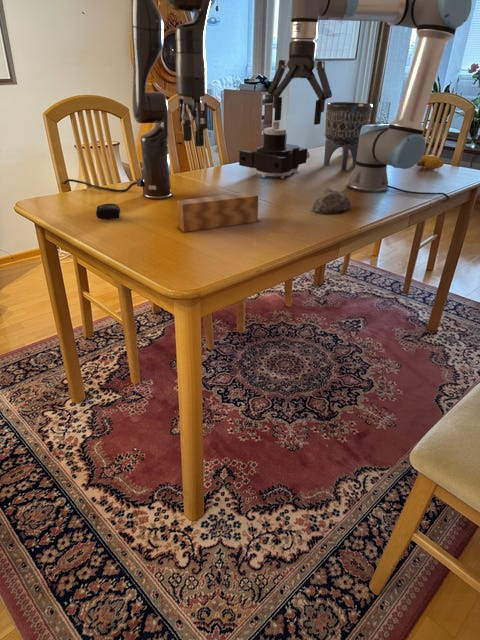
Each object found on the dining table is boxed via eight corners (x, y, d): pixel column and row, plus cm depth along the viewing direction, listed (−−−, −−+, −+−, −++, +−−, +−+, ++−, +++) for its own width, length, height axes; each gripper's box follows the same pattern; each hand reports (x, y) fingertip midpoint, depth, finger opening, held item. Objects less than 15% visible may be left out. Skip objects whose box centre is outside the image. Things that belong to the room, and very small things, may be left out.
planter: (313, 167, 208) (319, 103, 195) (331, 160, 222) (338, 101, 209) (353, 173, 199) (362, 107, 185) (369, 166, 213) (379, 104, 199)
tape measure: (96, 222, 135) (94, 209, 133) (99, 215, 140) (97, 203, 139) (120, 221, 136) (118, 209, 134) (121, 214, 141) (120, 202, 139)
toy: (418, 162, 205) (412, 155, 217) (420, 176, 207) (414, 168, 220) (444, 154, 201) (436, 147, 214) (446, 168, 204) (438, 161, 217)
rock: (335, 203, 156) (338, 184, 153) (355, 209, 151) (359, 189, 148) (309, 210, 149) (311, 190, 145) (329, 217, 143) (332, 196, 140)
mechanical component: (240, 120, 182) (283, 115, 202) (239, 174, 192) (280, 164, 212) (283, 126, 170) (325, 120, 190) (280, 183, 180) (320, 171, 200)
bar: (250, 217, 142) (251, 192, 138) (257, 221, 139) (258, 195, 135) (178, 227, 132) (177, 200, 128) (183, 232, 129) (182, 204, 125)
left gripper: (167, 73, 117) (171, 140, 125) (187, 75, 106) (189, 148, 114) (194, 73, 120) (196, 138, 128) (216, 75, 109) (217, 147, 117)
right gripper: (258, 40, 131) (255, 119, 142) (338, 40, 119) (329, 127, 130) (271, 41, 136) (268, 117, 147) (349, 41, 125) (339, 124, 135)
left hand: (193, 143), depth 121 cm, fingers open, 8 cm apart
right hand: (296, 122), depth 139 cm, fingers open, 13 cm apart
